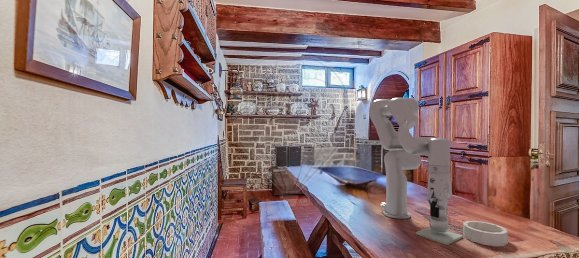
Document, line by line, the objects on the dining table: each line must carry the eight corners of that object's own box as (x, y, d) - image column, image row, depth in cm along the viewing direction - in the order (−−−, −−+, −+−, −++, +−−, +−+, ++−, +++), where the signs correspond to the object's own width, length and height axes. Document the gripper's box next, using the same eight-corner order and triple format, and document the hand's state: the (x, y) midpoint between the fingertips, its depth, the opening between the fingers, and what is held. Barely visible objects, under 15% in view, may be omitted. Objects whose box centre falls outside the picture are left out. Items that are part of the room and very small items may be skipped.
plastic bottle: (425, 228, 108) (425, 179, 108) (441, 228, 108) (441, 179, 108) (435, 234, 101) (436, 182, 101) (452, 234, 102) (452, 182, 102)
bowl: (457, 236, 104) (457, 225, 104) (472, 229, 111) (472, 218, 111) (498, 249, 93) (498, 236, 93) (512, 240, 100) (512, 228, 100)
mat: (415, 234, 106) (415, 232, 106) (431, 228, 113) (431, 226, 113) (447, 245, 96) (447, 242, 96) (462, 237, 103) (462, 235, 103)
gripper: (437, 172, 97) (437, 222, 97) (459, 169, 106) (459, 214, 106) (417, 170, 103) (417, 216, 103) (440, 166, 113) (440, 209, 113)
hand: (438, 214), depth 105 cm, fingers closed on plastic bottle, 5 cm apart
